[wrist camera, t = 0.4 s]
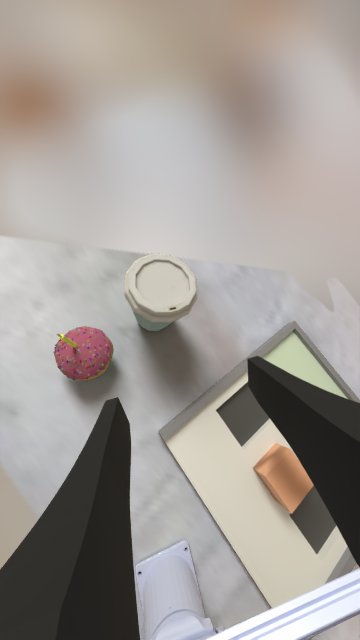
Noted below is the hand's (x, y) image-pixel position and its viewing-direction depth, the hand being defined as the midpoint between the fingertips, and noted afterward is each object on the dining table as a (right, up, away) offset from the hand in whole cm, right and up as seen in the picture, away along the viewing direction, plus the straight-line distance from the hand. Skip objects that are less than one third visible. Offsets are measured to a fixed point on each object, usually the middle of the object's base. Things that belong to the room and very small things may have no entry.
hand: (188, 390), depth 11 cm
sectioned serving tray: (+19, -20, +28) cm, 39 cm away
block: (+16, -22, +25) cm, 37 cm away
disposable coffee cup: (-6, +5, +31) cm, 32 cm away
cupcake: (-16, -3, +26) cm, 31 cm away
